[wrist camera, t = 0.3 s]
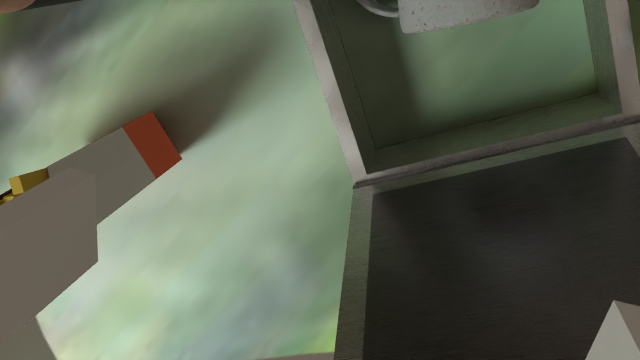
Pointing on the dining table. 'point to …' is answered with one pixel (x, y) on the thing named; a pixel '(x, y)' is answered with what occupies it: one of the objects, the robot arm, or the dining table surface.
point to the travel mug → (27, 4)
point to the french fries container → (112, 164)
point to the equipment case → (490, 216)
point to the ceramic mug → (446, 12)
